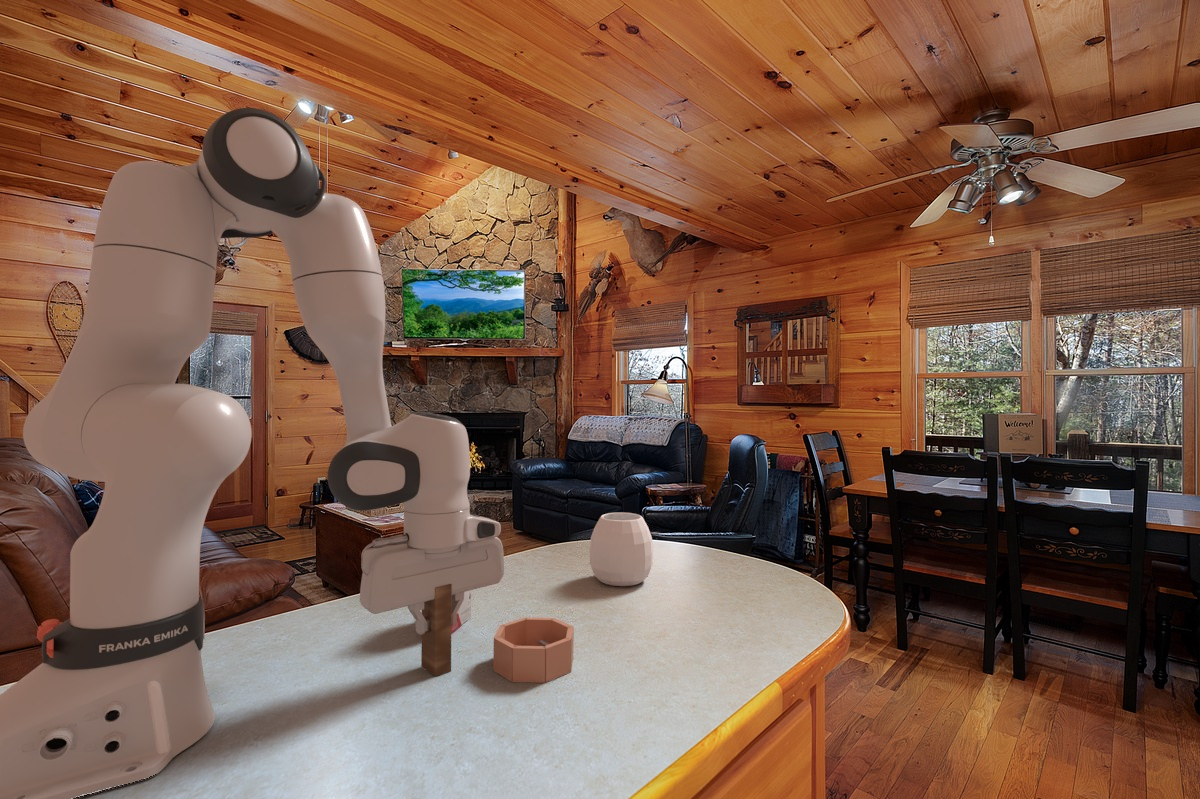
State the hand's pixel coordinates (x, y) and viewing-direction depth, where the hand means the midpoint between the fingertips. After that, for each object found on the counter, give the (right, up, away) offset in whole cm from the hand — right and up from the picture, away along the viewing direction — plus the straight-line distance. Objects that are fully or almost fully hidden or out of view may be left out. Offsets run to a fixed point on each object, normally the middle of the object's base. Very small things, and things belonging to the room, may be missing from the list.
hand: (436, 628), depth 80 cm
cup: (+27, -6, +40) cm, 48 cm away
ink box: (-2, -6, +16) cm, 17 cm away
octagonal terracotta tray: (+13, -6, +2) cm, 15 cm away
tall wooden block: (0, -6, 0) cm, 6 cm away
